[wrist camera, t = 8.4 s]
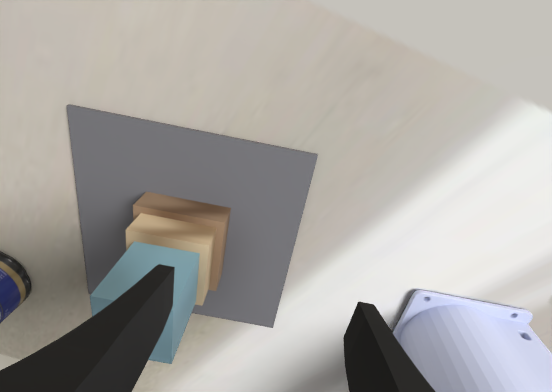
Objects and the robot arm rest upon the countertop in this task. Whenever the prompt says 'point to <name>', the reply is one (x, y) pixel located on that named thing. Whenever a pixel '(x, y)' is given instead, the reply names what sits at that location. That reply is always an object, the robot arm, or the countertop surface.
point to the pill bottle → (12, 285)
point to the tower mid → (177, 242)
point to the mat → (197, 187)
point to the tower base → (191, 221)
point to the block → (135, 268)
